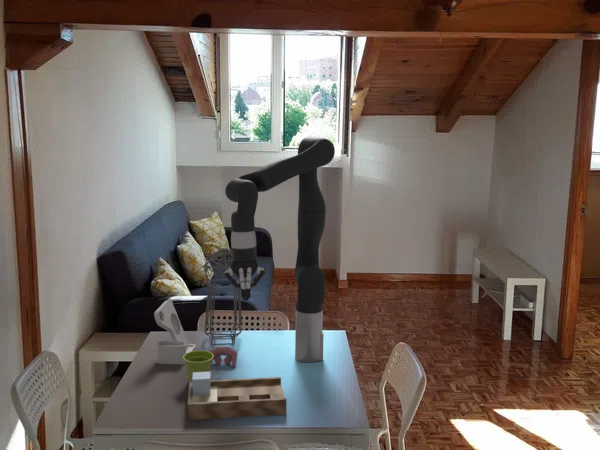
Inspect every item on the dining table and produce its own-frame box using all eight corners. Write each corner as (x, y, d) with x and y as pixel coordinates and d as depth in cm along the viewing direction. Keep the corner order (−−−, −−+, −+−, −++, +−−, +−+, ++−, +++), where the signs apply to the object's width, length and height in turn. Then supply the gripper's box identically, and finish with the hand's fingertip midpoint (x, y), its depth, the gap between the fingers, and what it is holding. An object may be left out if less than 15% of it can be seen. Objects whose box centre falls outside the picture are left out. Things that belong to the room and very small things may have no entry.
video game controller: (237, 368, 204) (239, 347, 206) (235, 367, 200) (236, 346, 202) (208, 367, 205) (210, 346, 207) (205, 366, 201) (207, 344, 203)
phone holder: (184, 365, 203) (183, 313, 200) (154, 364, 204) (152, 312, 201) (196, 346, 220) (195, 297, 217) (168, 345, 221) (167, 297, 218)
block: (210, 387, 179) (210, 371, 178) (210, 395, 174) (210, 378, 174) (193, 388, 179) (192, 372, 178) (192, 396, 174) (192, 379, 173)
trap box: (280, 391, 184) (280, 377, 184) (286, 414, 170) (286, 399, 169) (189, 395, 181) (189, 381, 180) (187, 420, 166) (187, 404, 165)
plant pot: (219, 378, 193) (219, 352, 191) (205, 391, 184) (204, 363, 182) (193, 374, 196) (192, 348, 194) (178, 386, 187) (177, 359, 185)
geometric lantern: (203, 333, 233) (204, 243, 227) (244, 334, 234) (246, 244, 229) (200, 348, 217) (201, 252, 212) (244, 348, 219) (247, 253, 213)
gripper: (263, 241, 190) (265, 294, 193) (221, 243, 188) (223, 297, 191) (266, 246, 183) (268, 301, 186) (222, 248, 181) (225, 305, 184)
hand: (245, 299), depth 189 cm, fingers closed
